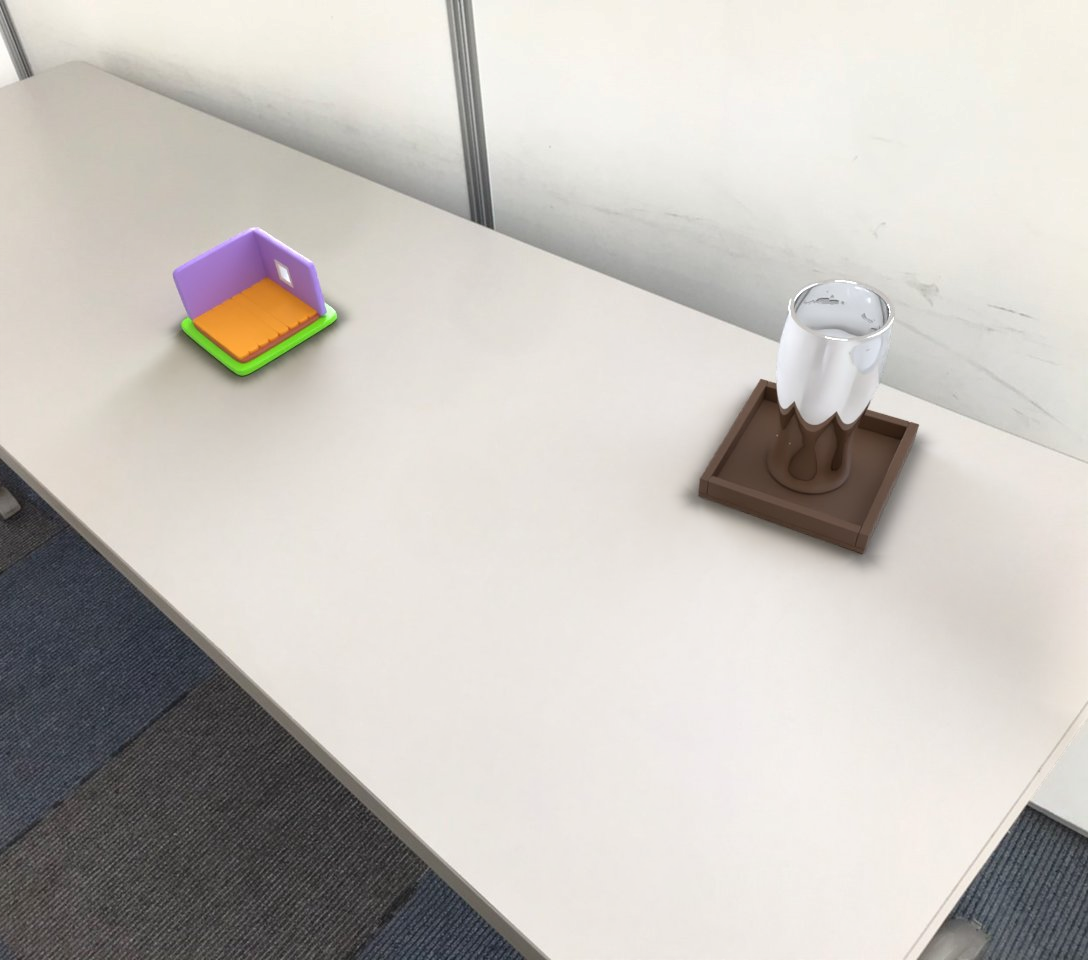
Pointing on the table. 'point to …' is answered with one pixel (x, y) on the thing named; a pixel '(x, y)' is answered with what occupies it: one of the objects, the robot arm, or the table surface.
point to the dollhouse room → (251, 300)
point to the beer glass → (827, 379)
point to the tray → (827, 516)
